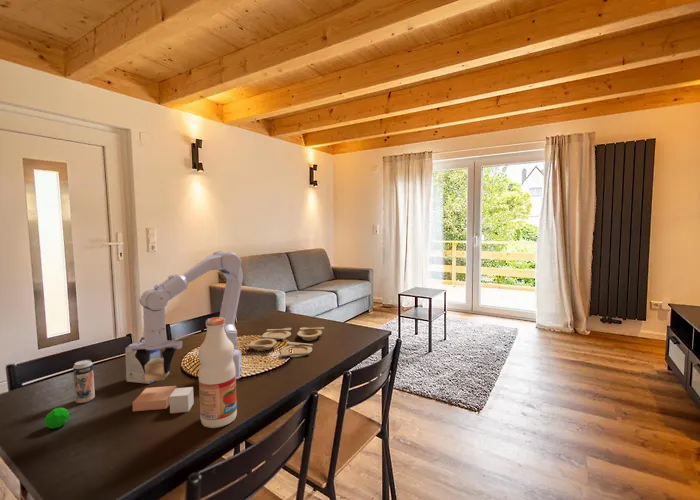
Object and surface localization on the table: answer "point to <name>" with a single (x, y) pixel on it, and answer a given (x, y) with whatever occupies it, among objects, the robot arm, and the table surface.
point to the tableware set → (298, 348)
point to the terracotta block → (153, 398)
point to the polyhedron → (57, 418)
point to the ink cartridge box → (137, 365)
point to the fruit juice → (217, 376)
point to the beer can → (83, 381)
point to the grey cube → (181, 400)
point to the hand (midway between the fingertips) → (157, 372)
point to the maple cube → (155, 370)
